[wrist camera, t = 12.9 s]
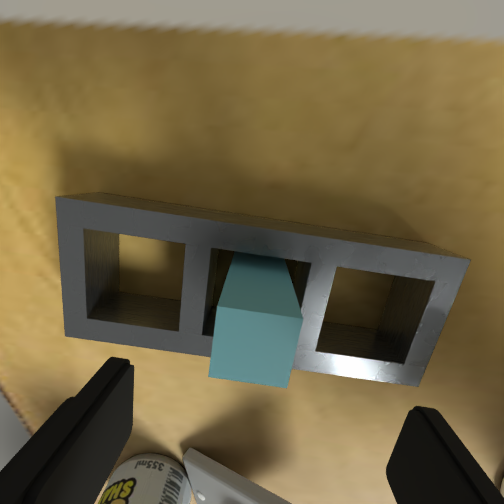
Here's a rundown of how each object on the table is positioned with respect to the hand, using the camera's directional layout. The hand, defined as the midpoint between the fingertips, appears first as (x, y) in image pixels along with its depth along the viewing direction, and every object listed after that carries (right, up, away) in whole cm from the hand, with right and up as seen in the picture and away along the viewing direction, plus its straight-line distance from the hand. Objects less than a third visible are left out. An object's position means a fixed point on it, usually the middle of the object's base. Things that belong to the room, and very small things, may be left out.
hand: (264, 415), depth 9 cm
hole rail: (0, +4, +11) cm, 12 cm away
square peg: (0, +4, +11) cm, 12 cm away
